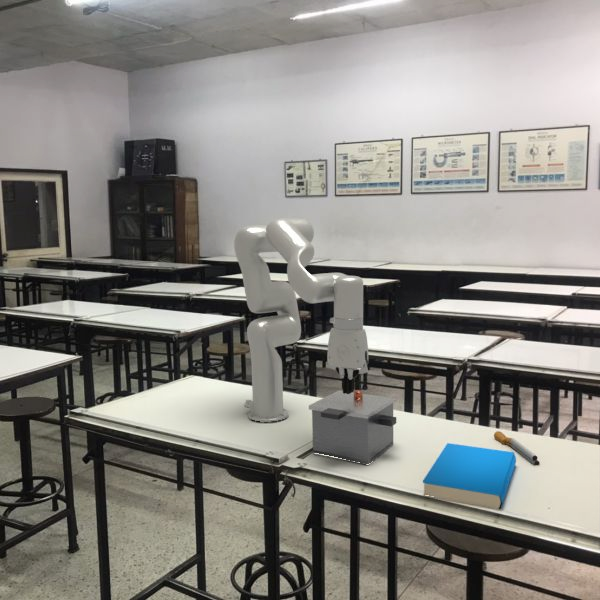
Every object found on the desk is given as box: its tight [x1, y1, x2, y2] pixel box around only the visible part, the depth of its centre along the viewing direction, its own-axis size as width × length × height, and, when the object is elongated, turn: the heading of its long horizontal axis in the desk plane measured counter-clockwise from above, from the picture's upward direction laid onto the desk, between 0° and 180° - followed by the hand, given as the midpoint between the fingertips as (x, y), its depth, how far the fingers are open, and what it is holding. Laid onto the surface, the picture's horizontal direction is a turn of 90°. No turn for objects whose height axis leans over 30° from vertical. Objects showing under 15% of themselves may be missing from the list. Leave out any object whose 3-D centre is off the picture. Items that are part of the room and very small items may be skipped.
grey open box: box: [311, 402, 397, 464], centre depth 162 cm, size 20×16×12 cm
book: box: [422, 442, 517, 510], centre depth 143 cm, size 17×4×25 cm
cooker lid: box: [308, 389, 395, 420], centre depth 160 cm, size 17×21×3 cm
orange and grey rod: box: [493, 430, 540, 466], centre depth 160 cm, size 19×3×3 cm
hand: (348, 392), depth 160 cm, fingers closed
